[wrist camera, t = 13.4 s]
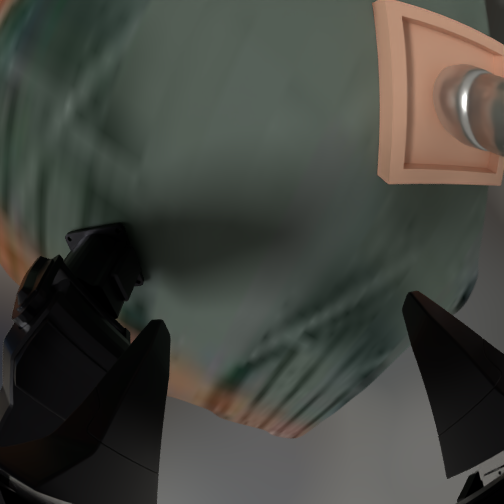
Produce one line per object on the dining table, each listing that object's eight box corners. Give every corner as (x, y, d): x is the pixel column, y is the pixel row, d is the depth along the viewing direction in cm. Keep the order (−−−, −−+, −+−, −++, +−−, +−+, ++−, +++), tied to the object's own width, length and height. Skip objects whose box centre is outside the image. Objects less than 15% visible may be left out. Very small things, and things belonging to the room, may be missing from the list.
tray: (377, 174, 20) (388, 184, 18) (372, 3, 12) (384, -3, 10) (488, 177, 19) (500, 186, 18) (495, 46, 11) (509, 48, 10)
